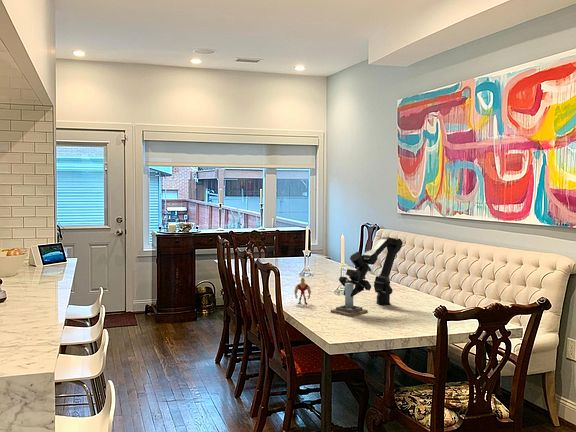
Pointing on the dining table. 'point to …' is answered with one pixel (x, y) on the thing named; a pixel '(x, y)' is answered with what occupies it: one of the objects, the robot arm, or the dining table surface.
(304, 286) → the action figure
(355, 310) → the cradle board
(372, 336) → the dining table surface
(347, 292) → the pale blue cylinder
